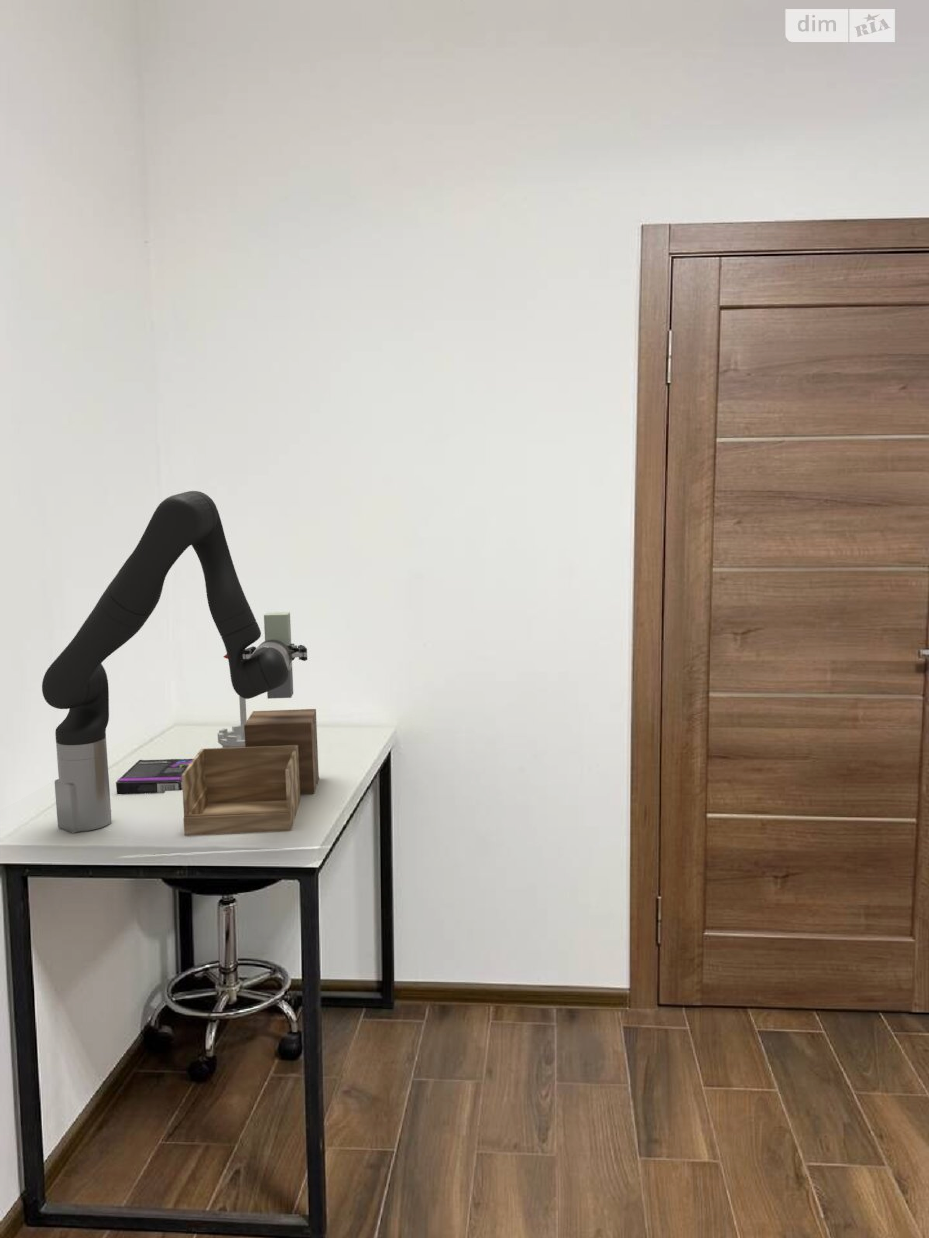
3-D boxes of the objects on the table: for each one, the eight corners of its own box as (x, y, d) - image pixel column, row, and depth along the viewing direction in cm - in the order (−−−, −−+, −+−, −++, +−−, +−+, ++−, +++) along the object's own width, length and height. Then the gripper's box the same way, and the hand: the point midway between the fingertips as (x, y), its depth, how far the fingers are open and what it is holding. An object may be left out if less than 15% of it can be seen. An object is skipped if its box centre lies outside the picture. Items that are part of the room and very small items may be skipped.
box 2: (291, 697, 220) (287, 614, 217) (267, 698, 219) (263, 615, 217) (293, 693, 224) (289, 612, 222) (270, 694, 224) (266, 612, 222)
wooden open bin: (291, 832, 195) (288, 771, 193) (184, 837, 194) (180, 775, 192) (300, 800, 215) (298, 744, 214) (204, 804, 214) (201, 748, 212)
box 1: (180, 796, 223) (199, 770, 243) (179, 781, 223) (199, 756, 242) (115, 797, 223) (140, 771, 242) (115, 782, 222) (139, 757, 242)
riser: (314, 795, 218) (311, 722, 216) (247, 798, 217) (244, 725, 215) (318, 777, 232) (315, 708, 230) (256, 780, 231) (253, 711, 229)
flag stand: (249, 742, 267) (243, 628, 263) (281, 749, 259) (276, 632, 255) (207, 752, 257) (201, 635, 253) (240, 760, 249) (234, 639, 245)
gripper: (305, 641, 206) (312, 630, 223) (233, 643, 206) (245, 632, 222) (306, 677, 207) (313, 664, 224) (235, 680, 206) (247, 666, 223)
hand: (279, 648), depth 223 cm, fingers closed on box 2, 5 cm apart
